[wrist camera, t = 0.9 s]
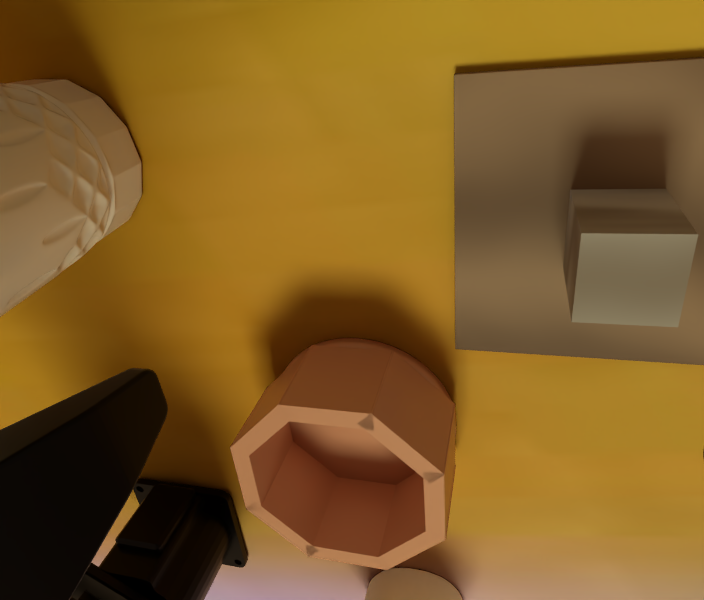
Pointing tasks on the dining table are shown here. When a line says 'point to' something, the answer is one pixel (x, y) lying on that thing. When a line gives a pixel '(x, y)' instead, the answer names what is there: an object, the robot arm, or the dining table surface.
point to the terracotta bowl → (351, 454)
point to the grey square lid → (581, 211)
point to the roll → (410, 586)
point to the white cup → (58, 181)
